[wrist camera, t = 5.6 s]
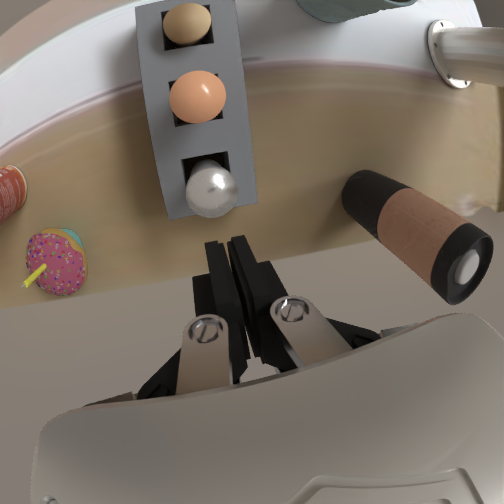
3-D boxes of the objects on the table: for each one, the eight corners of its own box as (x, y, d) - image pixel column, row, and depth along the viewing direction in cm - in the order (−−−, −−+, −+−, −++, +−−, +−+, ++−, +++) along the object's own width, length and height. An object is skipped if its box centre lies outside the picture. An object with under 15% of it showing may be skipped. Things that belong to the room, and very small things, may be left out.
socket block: (226, 8, 20) (233, -8, 16) (247, 188, 31) (258, 203, 27) (142, 21, 19) (135, 7, 15) (171, 203, 30) (168, 220, 26)
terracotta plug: (214, 76, 21) (222, 67, 16) (220, 116, 23) (229, 118, 18) (171, 84, 20) (165, 76, 15) (177, 124, 22) (173, 128, 17)
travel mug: (389, 202, 37) (490, 274, 20) (350, 229, 38) (444, 319, 21) (375, 158, 33) (496, 218, 16) (331, 185, 34) (446, 269, 17)
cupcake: (32, 225, 27) (-13, 277, 16) (81, 205, 28) (38, 256, 17) (59, 278, 31) (29, 340, 21) (106, 265, 32) (83, 330, 22)
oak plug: (204, 19, 20) (208, 0, 15) (208, 51, 22) (213, 37, 17) (166, 26, 19) (161, 7, 14) (169, 57, 22) (165, 44, 16)
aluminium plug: (224, 152, 25) (234, 164, 20) (230, 190, 27) (241, 212, 22) (183, 159, 24) (181, 173, 19) (190, 198, 26) (191, 222, 21)
